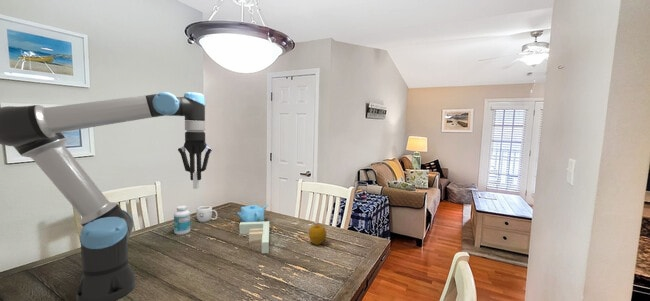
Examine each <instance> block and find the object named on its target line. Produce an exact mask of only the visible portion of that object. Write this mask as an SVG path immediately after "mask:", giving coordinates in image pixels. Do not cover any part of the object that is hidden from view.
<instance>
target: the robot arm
mask: <svg viewBox="0 0 650 301" xmlns="http://www.w3.org/2000/svg"><path fill="white" fill-rule="evenodd" d="M163 116H164V117H165V116H166V117H168V116H169V117H173V116H174V117H184V130H185V132H184V141H185V142H184V143H183V146H181V147H178V149H177V151H178V153H179V154H180V157H181V160H182V163H183V167H184V168H183V169H184V171H186V172H189V173H190V180H191V181H192V188H193V190H197V189H198V188H199V187H200V183H199V182H200V181H201V180H202V172H205V171H206V170H207V166H208V162H209V158H210V154H211V152H212V151H213V148H212V147H209V146H208V145H207V143H206V132H205V131H206V100H205V95H204V94H203V93H199V92H187V91H186V92H184V94H183V96H182V97H181V96H176V95H174V94H172V93H171V92H168V91H162V92H159V93H153V94H144V95H137V96H129V97H121V98H114V99H113V98H112V99H104V100H97V101H90V102H89V101H88V102H81V103H71V104H66V105H65V104H64V105H57V106H48V107H44V106H42V104H41V105H40V104H36V105H35V104H34V105H33V104H32V105H25V106H14V105H13V106H9V105H8V106H1V107H0V145H3V146H6V147H13V148H14V149H15V150H16V151H17V152H18V154H19V155H20V156H21V157H26V158H30V159H31V160H33V162H35V164H36V165H37V166H38V167H39V169H40V170H41V171H42V172H43V173H44V174H45V175H46V176H47V178H48V179H49V180H50V181H51V182H52V184H53V185H54V186H55V187H56V189H57V190H58V191H59V192H60V193H61V194H62V195H63V197H64V198H65V199H66V200H67V201H68V202H69V204H71V206H72V207H73V209H75V210H76V211H77V213H78V214H79V215H80V216H81V220H80V225H81V226H82V227H81V230H80V234H79V243H80V249H81V250H80V252H81V254H80V255H81V269H82V274H81V275H82V276H81V279H80V281H79V283H78V288H77V290H76V293H75V301H116V300H119V299H121V298H122V297H124V296H126V295H128V294H129V293H130V292H132V290H134V289H135V287H136V276H135V274H134V272H133V270H132V268H131V267H130V264H129V248H128V246H129V245H128V244H129V239H130V236H131V233H132V232H133V227H134V221H133V217H132V215H131V213H129V212H128V211H126V210H124V209H122V208H121V207H120V206H119V204H118V203H117V202H114V201H109V200H108V199H107V196H105V195H104V193H103V192H102V191H101V190H100V189H99V187H98V186H97V184H95V182H94V181H93V180H92V178H91V177H90V176H89V174H88V173H87V172H86V171H85V169H84V168H83V167H82V166H81V165H80V163H79V162H78V161H77V160H76V158H75V157H74V156H73V155H72V153H71V152H70V150H68V148H67V147H66V146H65V144H66V140H67V138H66V137H65V136H64V133H65V132H72V131H76V130H85V129H90V128H95V127H102V126H107V125H113V124H115V125H116V124H121V123H126V122H131V121H132V122H133V121H138V120H145V119H150V118H151V119H152V118H158V117H163ZM186 151H187V152H188V153H189V154H188V155H189V160H188V156H187V152H186ZM204 151H205V153H204V158H203V162H202V154H203V152H204ZM195 156H196V159H195ZM195 160H196V161H195ZM195 162H196V164H195ZM195 168H196V169H195Z"/></svg>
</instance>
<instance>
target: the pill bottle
mask: <svg viewBox="0 0 650 301" xmlns="http://www.w3.org/2000/svg"><path fill="white" fill-rule="evenodd" d="M173 230H174V235H175V234H176V235H181V236H182V235H185V234H188V233H190V232H191V210H188V206H187V205H178V206H176V211H175V212H174V213H173Z"/></svg>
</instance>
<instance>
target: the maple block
mask: <svg viewBox="0 0 650 301" xmlns="http://www.w3.org/2000/svg"><path fill="white" fill-rule="evenodd" d="M262 234H263V228H261V229H250V232H249V234H248V246H249V247H258V246H261V247H262Z"/></svg>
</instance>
